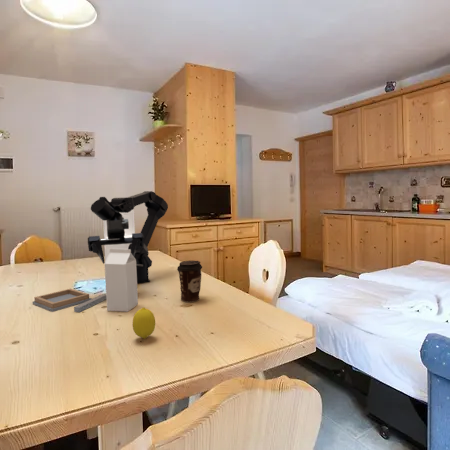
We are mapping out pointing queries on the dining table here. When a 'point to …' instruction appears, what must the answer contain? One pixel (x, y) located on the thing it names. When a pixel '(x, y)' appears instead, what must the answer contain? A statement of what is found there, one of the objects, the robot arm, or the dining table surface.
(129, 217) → the white tall block
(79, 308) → the steel rail
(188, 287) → the coffee cup
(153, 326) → the lemon
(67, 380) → the dining table surface
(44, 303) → the brown and grey tray
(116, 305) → the milk carton
